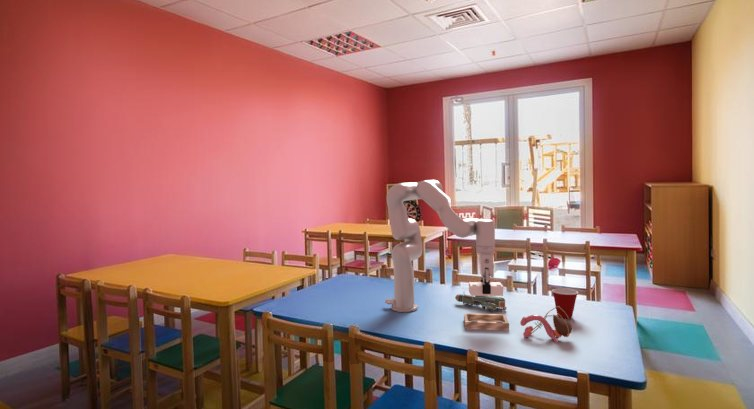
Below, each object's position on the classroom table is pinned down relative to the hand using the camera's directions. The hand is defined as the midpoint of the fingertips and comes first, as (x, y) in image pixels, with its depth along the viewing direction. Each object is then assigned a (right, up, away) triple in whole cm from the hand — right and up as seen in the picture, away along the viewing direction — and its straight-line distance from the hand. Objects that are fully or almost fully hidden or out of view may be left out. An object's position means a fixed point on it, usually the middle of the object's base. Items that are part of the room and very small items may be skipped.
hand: (485, 290), depth 179 cm
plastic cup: (+37, -13, +9) cm, 40 cm away
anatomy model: (+20, -16, -14) cm, 29 cm away
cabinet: (0, -15, +1) cm, 15 cm away
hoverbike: (+3, -13, +24) cm, 28 cm away
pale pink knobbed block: (0, -1, 0) cm, 1 cm away
